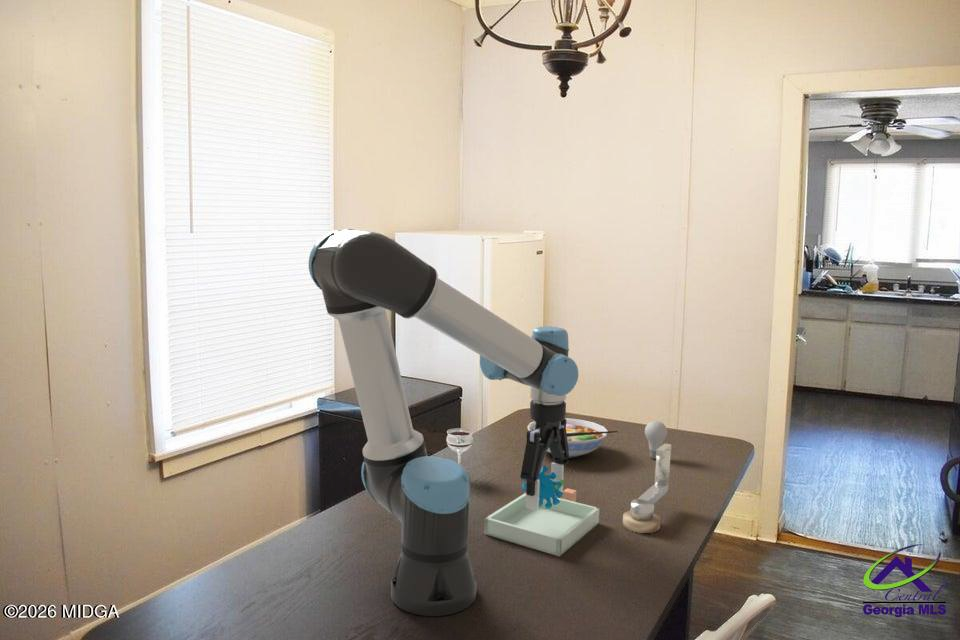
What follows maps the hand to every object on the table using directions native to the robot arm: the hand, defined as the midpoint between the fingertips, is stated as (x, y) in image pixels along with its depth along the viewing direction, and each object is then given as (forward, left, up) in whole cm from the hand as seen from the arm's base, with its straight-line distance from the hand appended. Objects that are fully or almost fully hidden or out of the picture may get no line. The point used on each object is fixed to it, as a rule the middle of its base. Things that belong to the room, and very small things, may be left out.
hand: (544, 500), depth 158 cm
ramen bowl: (+49, +18, -7) cm, 52 cm away
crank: (+20, -17, -4) cm, 27 cm away
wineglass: (+15, +32, -7) cm, 36 cm away
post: (+14, +1, -6) cm, 15 cm away
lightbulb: (+60, -4, -7) cm, 60 cm away
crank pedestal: (+14, -17, -6) cm, 23 cm away
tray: (0, 0, -6) cm, 6 cm away
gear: (0, 0, -1) cm, 1 cm away
